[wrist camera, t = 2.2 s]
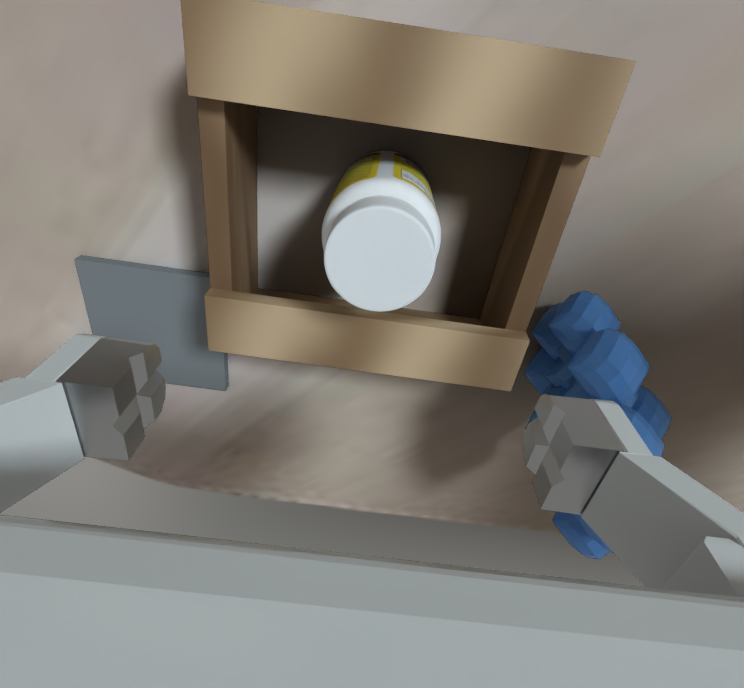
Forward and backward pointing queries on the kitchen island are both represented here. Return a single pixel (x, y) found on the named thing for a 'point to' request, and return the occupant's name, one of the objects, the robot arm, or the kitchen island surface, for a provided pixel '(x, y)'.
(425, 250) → the supplement bottle
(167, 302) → the slate pad
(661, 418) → the grapes
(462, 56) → the crate
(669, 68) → the kitchen island surface
